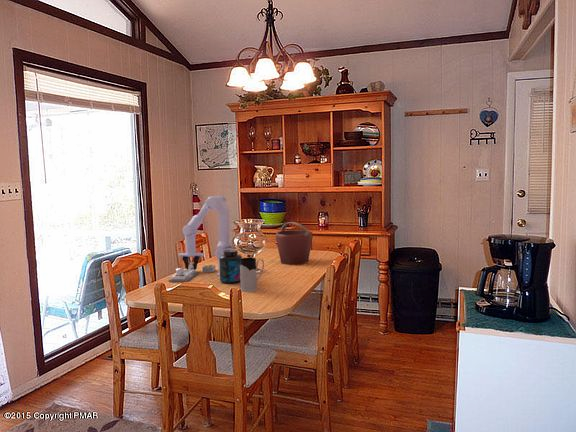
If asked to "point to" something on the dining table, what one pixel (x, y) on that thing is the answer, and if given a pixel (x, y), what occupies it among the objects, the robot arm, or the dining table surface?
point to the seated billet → (180, 272)
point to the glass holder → (249, 274)
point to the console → (208, 268)
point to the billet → (191, 266)
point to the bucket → (294, 245)
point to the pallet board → (187, 276)
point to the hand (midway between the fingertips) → (191, 269)
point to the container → (230, 266)
